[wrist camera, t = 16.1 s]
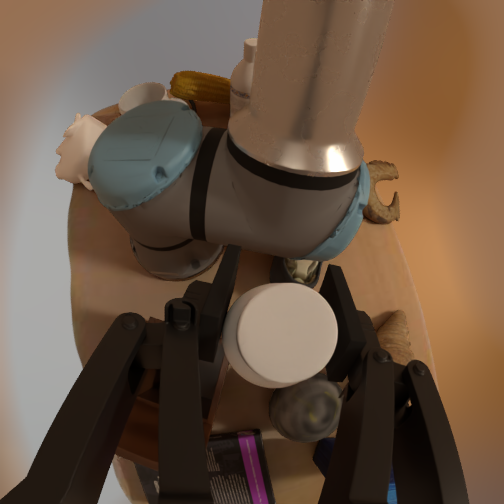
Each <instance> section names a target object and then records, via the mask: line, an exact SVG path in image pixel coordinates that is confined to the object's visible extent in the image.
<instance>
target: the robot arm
mask: <svg viewBox="0 0 504 504" xmlns="http://www.w3.org/2000/svg"><path fill="white" fill-rule="evenodd" d="M393 4H394V0H263V5H262V13H261V19H260V26H259V33H258V40H257V47H256V54H255V62H254V70H253V77H252V85H251V93H250V101H249V104H247V105H246V106H244V107H243V108H241V109H240V110H238V111H237V112H235V113H234V114H233V115H232V116H231V118H230V119H229V123H228V129H223V128H215V127H206V126H202V124H201V123H202V122H201V120H200V118H199V117H198V115H197V114H196V107H195V103H194V101H193V100H189V101H190V103H191V105H192V109H193V110H192V109H190V108H189V106H188V105H186V104H184V103H182V102H178V101H173V100H159V101H152V102H148V103H145V104H142V105H139V106H137V107H135V108H133V109H130V110H128V111H127V112H126V113H124V114H123V115H121V116H120V117H118V118H116V119H115V120H114V121H113V122H112V123H110V124H109V125H108V126H107V127H106V128H105V130H104V131H103V132H102V133H101V134H100V136H99V137H98V139H97V140H96V142H95V144H94V146H93V148H92V150H91V153H90V156H89V160H88V176H89V181H90V183H91V186H92V187H93V189H94V191H95V192H96V194H97V196H98V199H99V201H100V203H101V204H102V205H103V206H104V207H106V208H107V209H108V210H109V211H110V212H111V213H112V214H113V216H114V217H115V218H116V219H117V220H118V221H119V223H120V224H121V225H122V226H123V227H124V228H125V229H126V231H127V232H128V233H129V234H130V243H131V247H132V250H133V253H134V255H135V257H136V259H137V260H138V262H139V263H140V264H141V265H142V266H143V267H144V268H145V269H146V270H147V271H148V272H149V273H151V274H152V275H154V276H156V277H158V278H160V279H163V280H168V281H185V280H189V279H192V278H195V277H197V276H199V275H201V274H203V273H204V272H206V271H207V270H209V269H210V268H211V267H212V266H213V265H214V264H215V263H216V261H217V260H218V259H219V257H220V255H221V254H222V251H223V249H224V246H228V247H227V249H226V251H225V254H224V256H223V259H222V261H221V263H220V266H219V268H218V271H217V273H216V276H215V278H214V281H213V283H212V284H211V283H207V282H202V281H198V280H196V281H194V282H193V283H191V284H190V285H189V286H188V288H187V290H186V292H185V294H184V296H183V298H175V299H172V300H170V301H169V302H167V303H166V305H165V322H161V323H146V322H145V319H144V318H143V317H142V316H141V315H139V314H137V313H132V312H129V313H123V314H121V315H119V316H118V317H117V318H116V319H115V320H114V322H113V323H112V325H111V326H110V328H109V329H108V331H107V332H106V334H105V335H104V337H103V338H102V340H101V341H100V343H99V345H98V346H97V348H96V349H95V351H94V352H93V354H92V356H91V357H90V359H89V360H88V362H87V364H86V365H85V367H84V368H83V370H82V372H81V373H80V375H79V377H78V378H77V380H76V382H75V383H74V385H73V387H72V389H71V390H70V392H69V394H68V396H67V397H66V399H65V401H64V403H63V404H62V406H61V408H60V410H59V412H58V413H57V415H56V417H55V419H54V421H53V423H52V425H51V427H50V428H49V430H48V433H47V434H46V436H45V438H44V440H43V442H42V444H41V447H40V448H39V450H38V453H37V455H36V457H35V459H34V461H33V463H32V466H31V468H30V470H29V472H28V475H27V477H26V478H25V479H23V481H21V482H20V483H19V484H18V485H17V486H16V487H15V488H13V489H12V490H11V491H10V492H9V493H8V494H7V495H5V496H4V497H3V498H2V499H1V500H0V504H97V503H98V500H99V497H100V494H101V491H102V488H103V485H104V482H105V479H106V476H107V474H108V471H109V468H110V465H111V463H112V460H113V457H114V454H115V452H116V449H117V446H118V444H119V441H120V438H121V436H122V433H123V431H124V428H125V426H126V423H127V421H128V418H129V416H130V413H131V411H132V408H133V406H134V403H135V401H136V398H137V396H138V393H139V391H140V389H141V386H142V384H143V382H144V379H145V377H146V375H147V372H148V370H149V369H161V373H160V390H159V415H158V472H159V495H158V504H214V500H213V497H212V494H211V488H210V481H209V474H208V466H207V457H206V448H205V438H204V428H203V417H202V404H201V391H200V375H199V360H202V361H206V362H211V363H214V359H215V355H216V351H217V348H218V344H219V340H220V337H221V333H222V329H223V324H224V320H225V318H226V314H227V311H228V307H229V303H230V300H231V296H232V292H233V289H234V285H235V280H236V274H237V268H238V263H239V257H240V252H241V249H245V250H250V251H255V252H260V253H264V254H269V255H274V256H279V257H284V258H289V259H290V260H311V261H319V262H322V261H328V260H330V259H333V258H335V257H336V256H338V255H339V254H340V253H341V252H342V251H343V250H344V249H345V248H346V247H347V246H348V245H349V244H350V242H351V241H352V239H353V238H354V236H355V234H356V233H357V231H358V229H359V227H360V225H361V222H362V220H363V215H362V210H363V209H364V207H365V206H367V204H368V199H369V193H370V175H369V170H368V168H367V165H366V163H365V162H364V161H363V156H364V150H363V146H362V144H361V142H360V141H359V139H358V137H357V135H356V133H355V131H354V129H355V126H356V123H357V120H358V117H359V115H360V111H361V109H362V106H363V103H364V100H365V97H366V94H367V91H368V88H369V85H370V82H371V79H372V76H373V73H374V70H375V67H376V64H377V60H378V57H379V54H380V51H381V47H382V44H383V40H384V37H385V33H386V30H387V27H388V23H389V19H390V15H391V12H392V8H393ZM319 294H320V295H321V296H322V297H323V298H324V299H325V300H326V301H327V302H328V304H329V305H330V307H331V308H332V310H333V312H334V315H335V318H336V322H337V328H338V336H337V344H336V347H335V350H334V353H333V355H332V357H331V358H330V360H329V362H328V363H327V364H326V371H327V379H328V381H332V382H343V381H344V379H345V378H346V376H347V375H348V380H349V382H348V383H347V385H346V386H345V388H344V389H343V391H342V392H341V394H340V395H339V397H338V398H341V397H342V396H343V394H344V396H343V402H342V408H341V413H340V418H339V423H338V428H337V433H336V438H335V442H334V447H333V451H332V455H331V459H330V463H329V467H328V471H327V475H326V478H325V482H324V485H323V489H322V492H321V495H320V499H319V502H318V504H388V502H387V497H388V490H389V482H390V474H391V465H393V472H394V480H395V488H396V497H397V504H469V500H468V494H467V489H466V484H465V479H464V475H463V470H462V466H461V462H460V459H459V455H458V451H457V447H456V444H455V441H454V437H453V434H452V431H451V428H450V424H449V421H448V419H447V415H446V413H445V410H444V407H443V404H442V401H441V398H440V396H439V393H438V390H437V388H436V385H435V383H434V380H433V378H432V375H431V373H430V370H429V369H428V367H427V366H426V365H425V364H424V363H423V362H421V361H419V360H411V361H410V362H408V364H407V365H406V366H405V365H402V364H399V363H396V362H394V361H393V358H392V356H391V354H390V353H389V352H388V351H386V350H385V349H383V348H381V346H380V343H379V340H378V337H377V335H376V332H375V329H374V327H373V324H372V321H371V319H370V317H369V316H368V315H367V314H366V313H365V312H364V311H358V310H356V307H355V304H354V302H353V299H352V296H351V293H350V290H349V288H348V285H347V282H346V280H345V277H344V274H343V272H342V269H341V267H340V266H335V265H331V264H329V265H328V268H327V271H326V274H325V277H324V280H323V283H322V285H321V288H320V291H319ZM409 400H410V401H411V404H412V405H411V406H409V404H408V401H409Z"/></svg>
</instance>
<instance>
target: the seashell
mask: <svg viewBox="0 0 504 504" xmlns="http://www.w3.org/2000/svg"><path fill="white" fill-rule="evenodd" d="M408 334H409V331H408V327H407V321H406V316H405V312H404V311H403V310H397V311H396V312H395V313H394V314H392V316H391V317H390V318H389V319H388V320H387V321H386V322H385V324H384V325H383V326H382V327H381V328H379V329H378V331H377V333H376V335H377V337H378V340H379V343H380V346H381V348H383V349H385V350H386V351H388V352H389V353H390V354H391V356H392V358H393V361H394V362H396V363H399V364H402V365H405V366H406V365H407V364H408V362H410V361H411V360H414V355H413V353H412V351H411V350H410V349H409V347H410V345H411V344H410V342H409V338H408Z"/></svg>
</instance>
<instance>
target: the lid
mask: <svg viewBox="0 0 504 504" xmlns="http://www.w3.org/2000/svg"><path fill="white" fill-rule="evenodd" d="M158 415H159V408H156V407H153V406H150V405H148V404H145V403H143V402H140V401H137V400H136V401H135V403H134V406H133V408H132V411H131V413H130V416H129V418H128V421H127V423H126V426H125V428H124V431H123V433H122V436H121V438H120V441H119V444H118V446H117V449H116V452H115V454H117V455H119V456H121V457H123V458H126V459H128V460H130V461H133V462H135V463H138V464H140V465H143V466H145V467H148V468H151V469H153V470H156V471H158ZM203 428H204V438H205V448H207V444H208V440H209V437H210V433H211V429H212V425H211V424H207V423H203Z"/></svg>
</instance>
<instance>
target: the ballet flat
mask: <svg viewBox="0 0 504 504" xmlns="http://www.w3.org/2000/svg"><path fill="white" fill-rule="evenodd" d="M322 262H323V261H322ZM322 262H319V261H311V260H290V259H289V258H284V257H279V256H274V260H273V263H272V267H271V271H270V283H296V284H301V285H304V286H307V287H309V288H311V289H312V288H313V287H314V286H315V285H316V284H317V282H318V280H319V276H320V271H321V266H322Z"/></svg>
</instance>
